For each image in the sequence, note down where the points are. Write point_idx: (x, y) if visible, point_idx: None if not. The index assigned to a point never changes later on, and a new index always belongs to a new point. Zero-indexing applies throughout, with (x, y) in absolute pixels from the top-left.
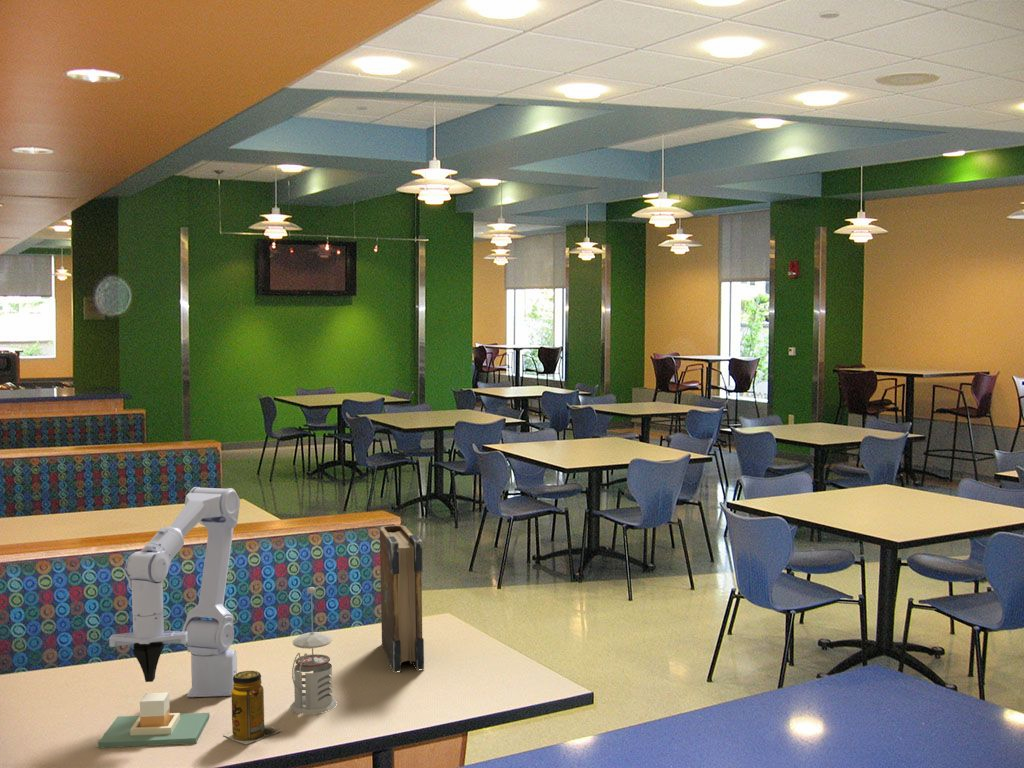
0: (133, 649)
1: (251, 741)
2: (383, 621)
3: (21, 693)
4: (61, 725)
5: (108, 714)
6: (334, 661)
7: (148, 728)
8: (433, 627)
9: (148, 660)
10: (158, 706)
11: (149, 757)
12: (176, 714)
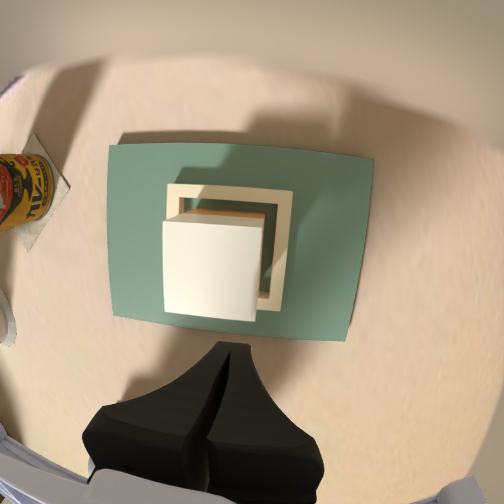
0: (317, 477)
1: (27, 149)
2: None
3: (471, 443)
4: (452, 326)
5: (364, 376)
6: (44, 449)
7: (235, 188)
8: None
9: (203, 398)
10: (190, 219)
11: (217, 70)
12: None
